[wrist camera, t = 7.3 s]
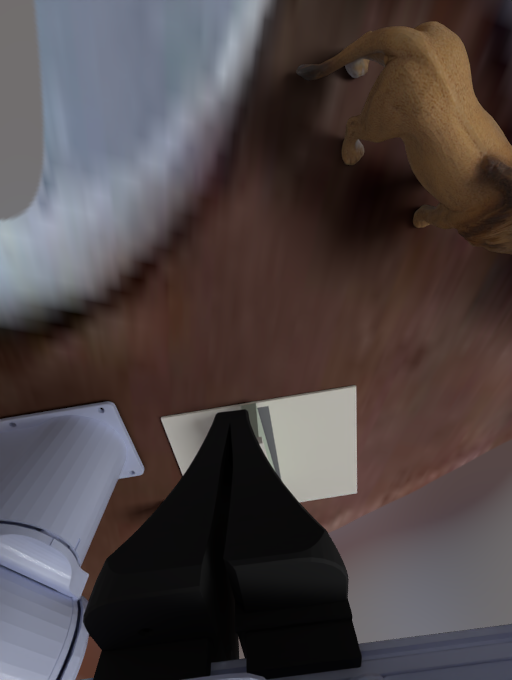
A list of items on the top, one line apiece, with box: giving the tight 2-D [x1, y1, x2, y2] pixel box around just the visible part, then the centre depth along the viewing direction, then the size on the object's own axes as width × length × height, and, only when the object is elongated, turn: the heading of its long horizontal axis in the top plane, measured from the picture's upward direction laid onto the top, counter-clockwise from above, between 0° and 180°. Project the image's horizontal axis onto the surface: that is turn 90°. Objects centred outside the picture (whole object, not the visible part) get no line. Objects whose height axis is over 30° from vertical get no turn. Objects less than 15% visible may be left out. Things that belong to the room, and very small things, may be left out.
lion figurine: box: [296, 22, 512, 254], centre depth 13 cm, size 15×5×9 cm, turn 61°
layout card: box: [161, 385, 357, 502], centre depth 27 cm, size 16×13×1 cm
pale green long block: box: [241, 403, 275, 470], centre depth 24 cm, size 12×2×4 cm, turn 13°
